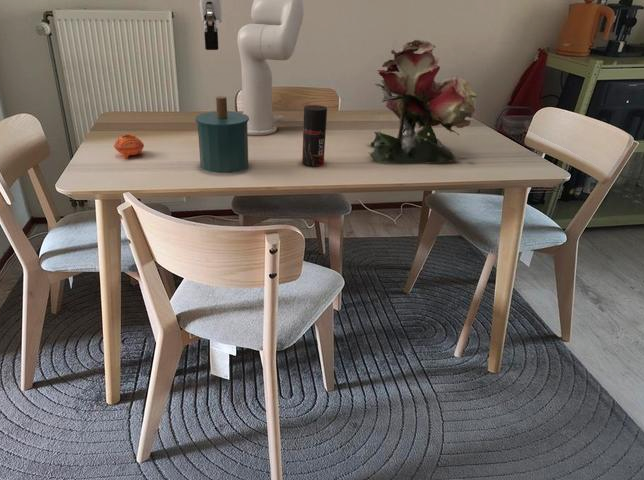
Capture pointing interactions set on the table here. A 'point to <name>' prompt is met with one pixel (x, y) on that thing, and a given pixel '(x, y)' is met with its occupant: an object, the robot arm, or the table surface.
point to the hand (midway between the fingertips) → (212, 47)
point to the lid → (222, 116)
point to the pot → (128, 145)
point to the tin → (223, 148)
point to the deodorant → (314, 135)
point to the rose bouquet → (420, 106)
